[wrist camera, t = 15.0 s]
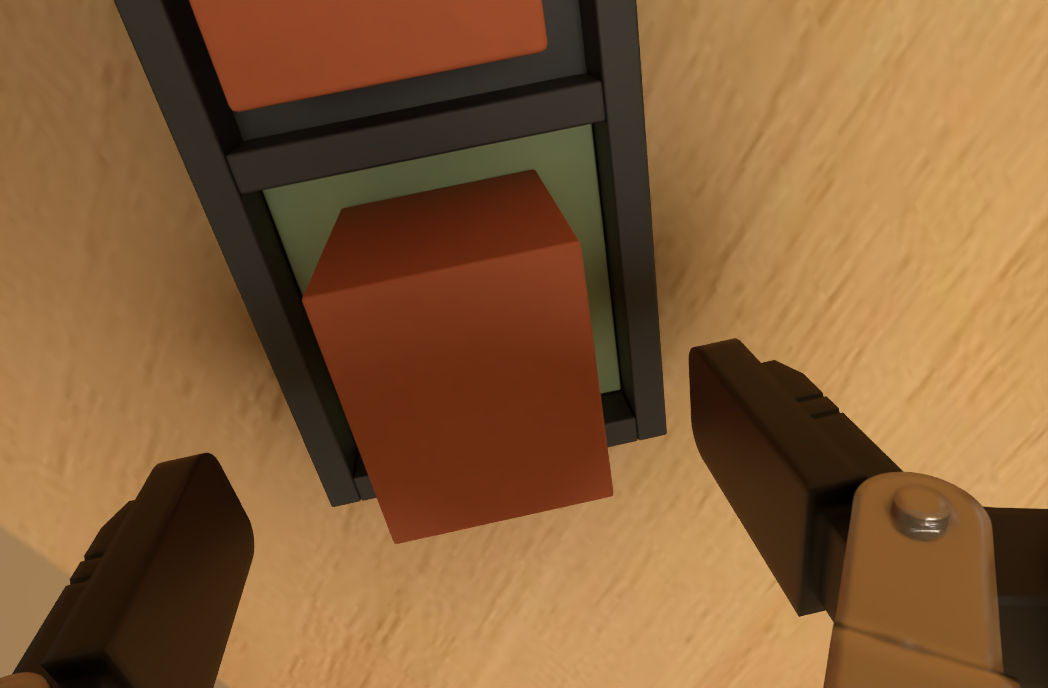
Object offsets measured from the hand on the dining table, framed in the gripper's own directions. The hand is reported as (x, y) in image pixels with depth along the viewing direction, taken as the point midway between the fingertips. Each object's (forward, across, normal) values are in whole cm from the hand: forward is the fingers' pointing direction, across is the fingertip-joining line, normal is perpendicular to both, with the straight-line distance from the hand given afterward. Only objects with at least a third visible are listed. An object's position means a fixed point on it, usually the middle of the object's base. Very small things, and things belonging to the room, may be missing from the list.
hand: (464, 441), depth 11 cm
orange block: (+6, 0, 0) cm, 6 cm away
